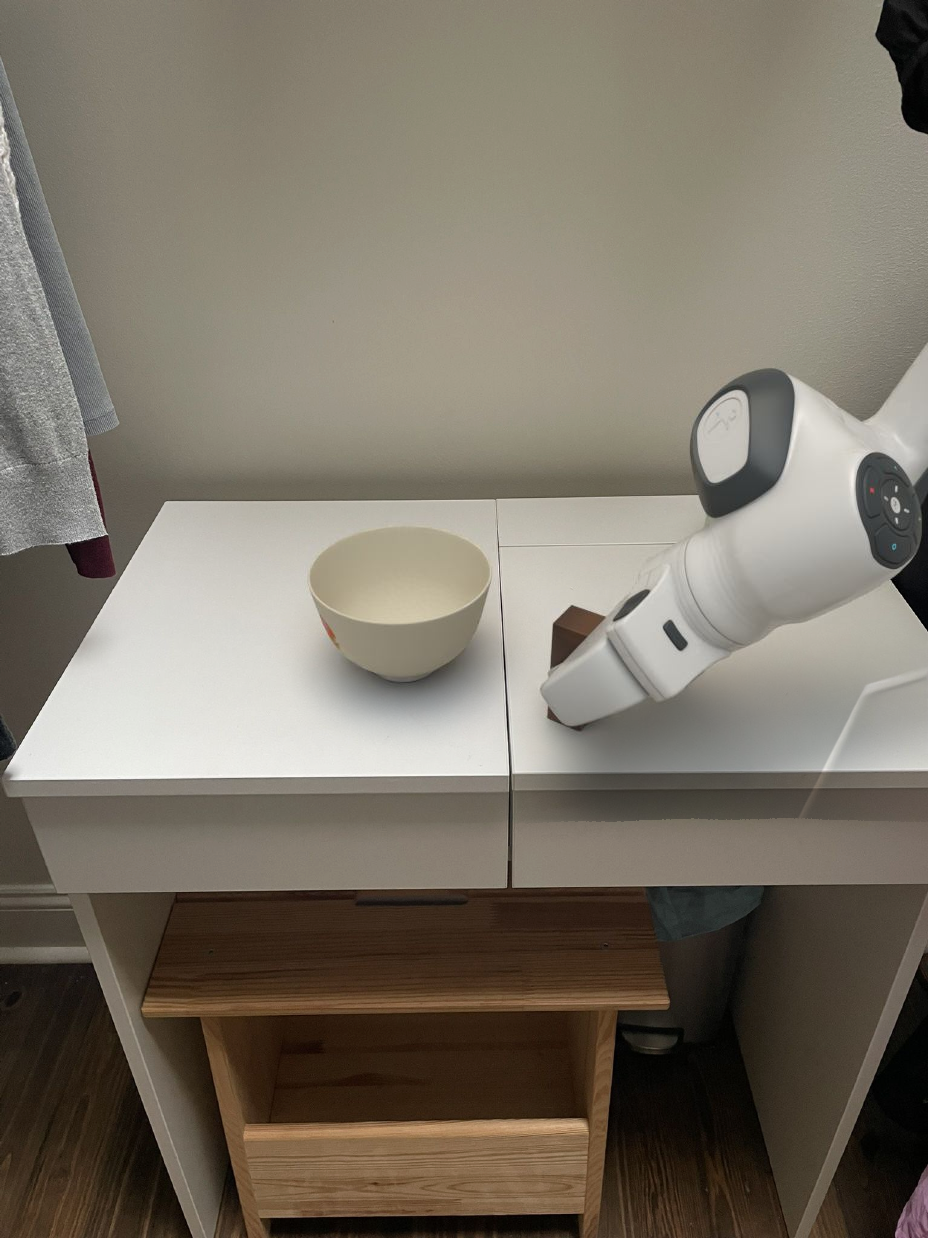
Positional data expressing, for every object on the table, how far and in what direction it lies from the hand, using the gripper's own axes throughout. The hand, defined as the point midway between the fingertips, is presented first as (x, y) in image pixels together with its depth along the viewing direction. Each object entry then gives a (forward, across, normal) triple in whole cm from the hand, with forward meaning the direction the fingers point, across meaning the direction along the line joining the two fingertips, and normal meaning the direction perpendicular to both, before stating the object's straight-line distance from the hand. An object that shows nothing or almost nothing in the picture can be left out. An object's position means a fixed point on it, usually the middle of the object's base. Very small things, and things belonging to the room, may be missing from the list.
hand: (569, 663), depth 79 cm
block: (+3, 0, +4) cm, 5 cm away
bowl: (+15, +2, -7) cm, 17 cm away
